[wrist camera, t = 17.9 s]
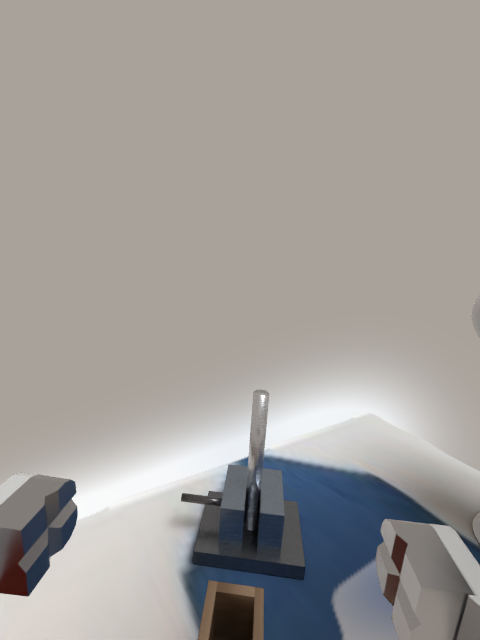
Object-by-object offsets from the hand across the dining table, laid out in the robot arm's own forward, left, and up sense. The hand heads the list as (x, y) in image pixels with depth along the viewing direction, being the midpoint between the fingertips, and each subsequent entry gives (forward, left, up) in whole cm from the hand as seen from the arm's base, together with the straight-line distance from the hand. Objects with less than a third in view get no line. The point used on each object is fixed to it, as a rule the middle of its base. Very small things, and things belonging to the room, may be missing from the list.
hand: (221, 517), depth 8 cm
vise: (+14, -25, -32) cm, 43 cm away
